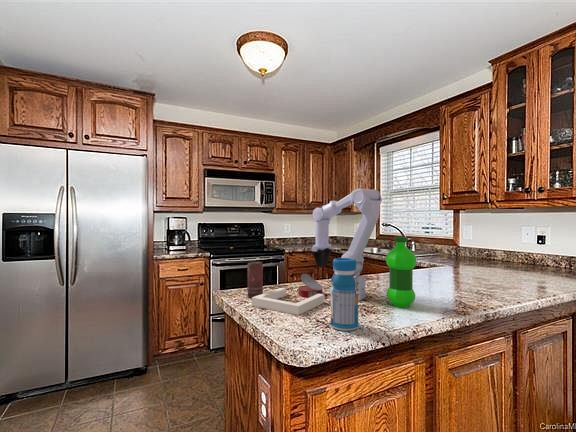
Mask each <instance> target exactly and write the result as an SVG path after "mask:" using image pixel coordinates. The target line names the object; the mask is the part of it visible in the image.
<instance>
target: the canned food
mask: <svg viewBox="0 0 576 432" xmlns="http://www.w3.org/2000/svg"><path fill="white" fill-rule="evenodd" d="M300 279H301V280H300V281H301V282H302V283H303V284H304V285H301V286H299V287H298V297H301V298H305V299H307V298H309V297H312V296H314V295H316V294H323V286H322V284H320V283H319V282H318V281H317V280H316V279H314V277H312V276H311V275H310V274H308V273H302V274H301V276H300Z"/></svg>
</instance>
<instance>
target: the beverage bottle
mask: <svg viewBox="0 0 576 432" xmlns="http://www.w3.org/2000/svg"><path fill="white" fill-rule="evenodd" d="M332 268H333V271H334V273H333V275H332V277H331V278H330V284H331V286H330V288H329V289H330V290H329V294H330V326H331V327H332V329H335V330H337V331H342V332H343V331H345V332H350V331H351V332H352V331H355V330H357V329H359V301H358V296H359V289H358V284H359V282H358V279H357V277H356V275H355V273H354V271H356V260H355V259H351V258H341V257H337V258H334V259H333V261H332Z"/></svg>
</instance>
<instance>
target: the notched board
mask: <svg viewBox="0 0 576 432" xmlns="http://www.w3.org/2000/svg"><path fill="white" fill-rule="evenodd" d="M286 296H287V288H286V287H279V288H276V289H273V290H270V291H267V292H263V294H261V295H258V296H255V297H252V298H251V306H253V307H256V308H257V307H258V308H261V309H266V310H272V311H277V312H280V313H285V314H290V315H296V316H300V315H302V314H304V313H306V312H308V311H310V310H312V309H314V308H316V307H319V306H320V305H322V304H324V303H325V294H324V293H322V294H316V295H314V296H312V297H309V298H305V299H302V300H300V301H297V302H291V301H287V300H281V298H283V297H286Z"/></svg>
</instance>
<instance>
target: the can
mask: <svg viewBox="0 0 576 432" xmlns="http://www.w3.org/2000/svg"><path fill="white" fill-rule="evenodd" d="M263 277H264V267H263V262H262V261H259V260H258V261H254V260H253V261H249V262H248V263H247V298H249V299H252V297H255V296H258V295H261V294H264V288H263V287H264V285H263V283H264V278H263Z"/></svg>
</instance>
